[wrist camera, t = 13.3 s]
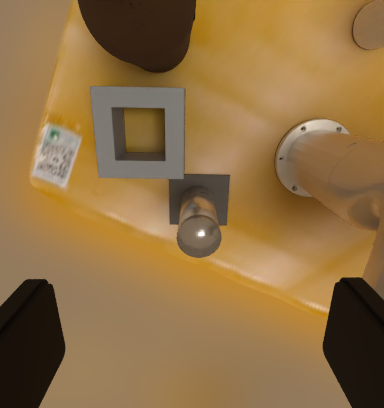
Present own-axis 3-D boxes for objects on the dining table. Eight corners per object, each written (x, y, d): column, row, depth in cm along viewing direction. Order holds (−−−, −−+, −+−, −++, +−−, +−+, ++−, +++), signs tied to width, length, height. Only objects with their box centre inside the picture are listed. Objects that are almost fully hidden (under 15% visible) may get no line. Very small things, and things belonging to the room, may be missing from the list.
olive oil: (145, 91, 42) (86, 75, 19) (105, 19, 39) (-25, -107, 16) (207, 53, 41) (228, -16, 17) (170, -25, 38) (135, -240, 14)
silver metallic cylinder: (214, 185, 47) (222, 218, 34) (212, 216, 49) (220, 258, 36) (181, 185, 47) (177, 217, 34) (181, 215, 49) (176, 257, 36)
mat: (229, 174, 47) (229, 175, 46) (226, 224, 50) (226, 225, 49) (169, 173, 47) (169, 174, 46) (170, 223, 50) (169, 224, 49)
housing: (185, 90, 42) (184, 87, 36) (184, 168, 46) (183, 179, 40) (105, 88, 42) (89, 86, 36) (112, 167, 46) (98, 177, 40)
